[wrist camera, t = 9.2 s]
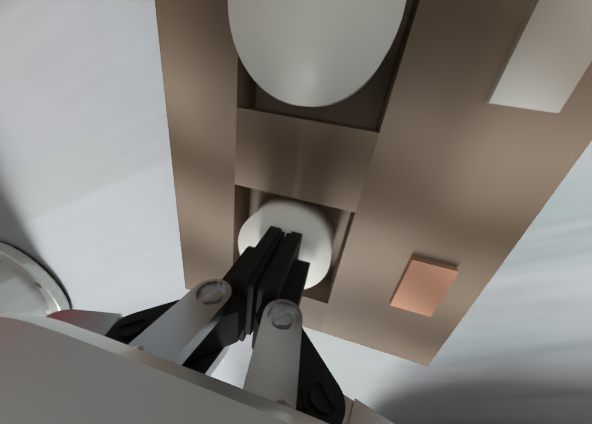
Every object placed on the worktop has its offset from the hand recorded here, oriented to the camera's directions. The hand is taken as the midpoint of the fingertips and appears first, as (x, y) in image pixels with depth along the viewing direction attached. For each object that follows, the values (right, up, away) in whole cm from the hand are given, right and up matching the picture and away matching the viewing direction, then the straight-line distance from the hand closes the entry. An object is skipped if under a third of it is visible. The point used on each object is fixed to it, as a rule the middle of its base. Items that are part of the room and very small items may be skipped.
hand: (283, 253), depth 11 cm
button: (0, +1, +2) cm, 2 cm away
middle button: (+1, +9, -4) cm, 10 cm away
